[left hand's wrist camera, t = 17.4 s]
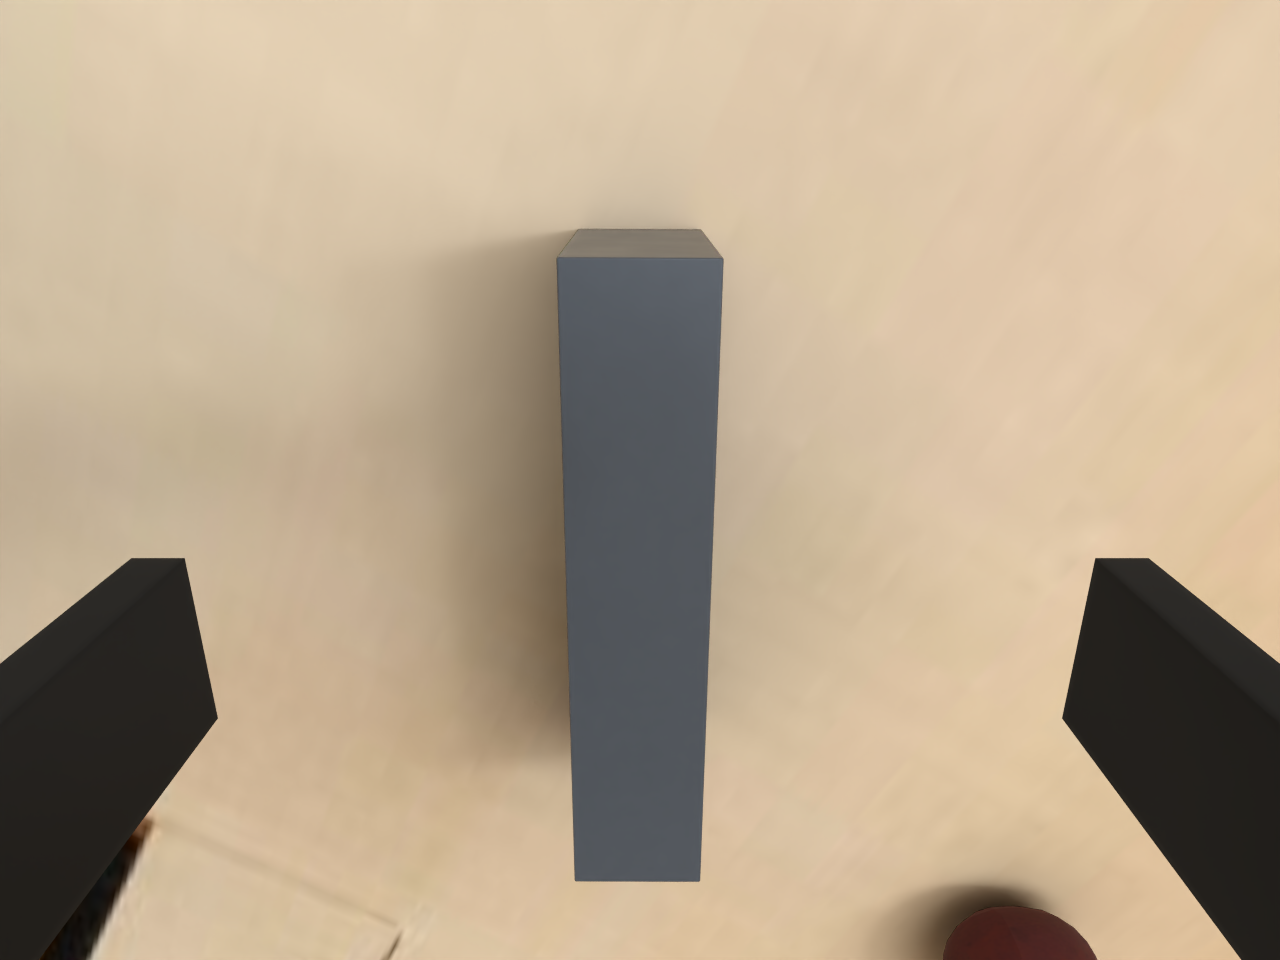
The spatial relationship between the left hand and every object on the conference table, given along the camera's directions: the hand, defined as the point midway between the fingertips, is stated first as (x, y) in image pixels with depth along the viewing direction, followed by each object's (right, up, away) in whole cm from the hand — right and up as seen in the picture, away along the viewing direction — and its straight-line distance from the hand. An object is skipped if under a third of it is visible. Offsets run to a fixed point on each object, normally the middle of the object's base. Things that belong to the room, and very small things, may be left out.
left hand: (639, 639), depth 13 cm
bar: (0, +1, +23) cm, 23 cm away
